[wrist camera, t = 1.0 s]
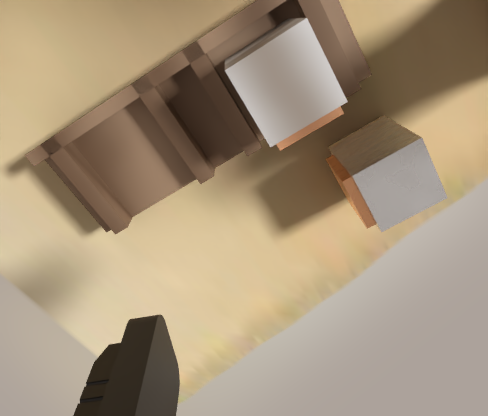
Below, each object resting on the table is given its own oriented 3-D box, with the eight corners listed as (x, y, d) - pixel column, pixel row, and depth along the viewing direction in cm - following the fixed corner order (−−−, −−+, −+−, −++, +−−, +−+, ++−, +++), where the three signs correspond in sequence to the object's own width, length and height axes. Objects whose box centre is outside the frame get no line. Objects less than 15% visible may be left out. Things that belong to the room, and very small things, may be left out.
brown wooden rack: (312, -37, 24) (350, -63, 17) (361, 70, 27) (413, 89, 19) (47, 140, 28) (-16, 182, 20) (113, 219, 30) (78, 282, 23)
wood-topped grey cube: (406, 165, 30) (447, 197, 24) (345, 198, 30) (372, 236, 25) (383, 115, 28) (422, 137, 23) (320, 151, 29) (342, 181, 23)
